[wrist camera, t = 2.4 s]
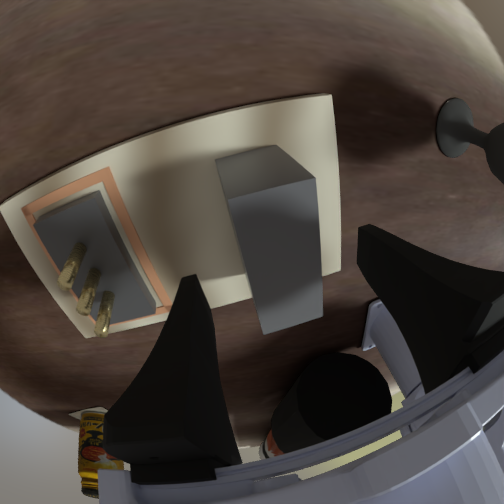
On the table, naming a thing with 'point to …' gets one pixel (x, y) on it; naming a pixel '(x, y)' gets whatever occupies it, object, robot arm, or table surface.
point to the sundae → (469, 135)
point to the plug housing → (275, 233)
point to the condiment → (93, 450)
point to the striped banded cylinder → (327, 404)
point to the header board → (165, 213)
